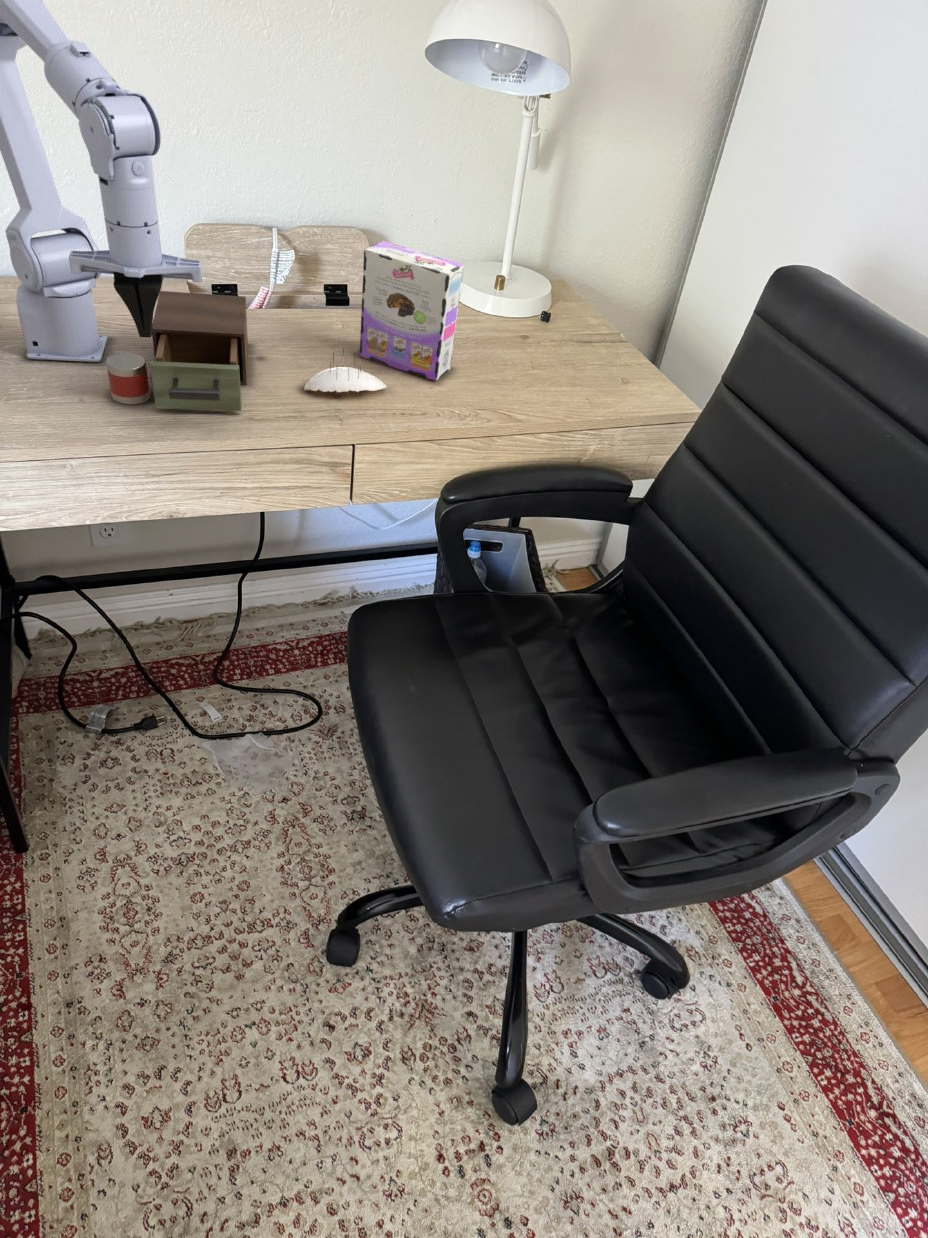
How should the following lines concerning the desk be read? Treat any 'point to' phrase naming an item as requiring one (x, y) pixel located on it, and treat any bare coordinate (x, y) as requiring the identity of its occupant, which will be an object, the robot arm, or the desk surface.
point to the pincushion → (344, 380)
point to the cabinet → (203, 319)
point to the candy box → (409, 309)
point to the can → (128, 378)
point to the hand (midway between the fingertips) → (146, 333)
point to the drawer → (197, 372)
